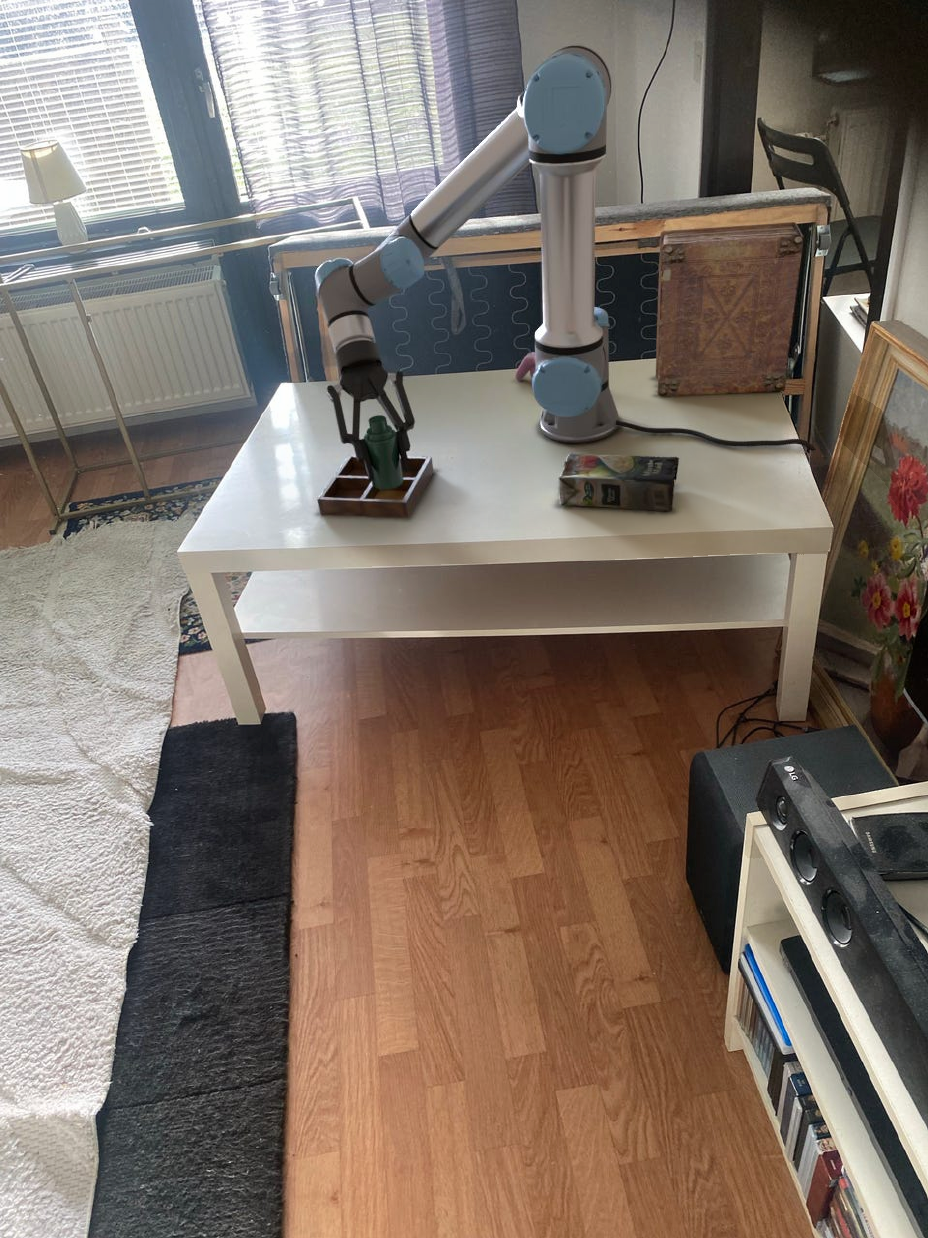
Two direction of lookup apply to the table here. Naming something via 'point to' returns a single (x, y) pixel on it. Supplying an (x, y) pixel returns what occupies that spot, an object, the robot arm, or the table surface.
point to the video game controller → (526, 366)
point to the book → (726, 308)
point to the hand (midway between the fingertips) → (389, 473)
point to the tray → (374, 490)
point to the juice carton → (618, 481)
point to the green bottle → (383, 454)
